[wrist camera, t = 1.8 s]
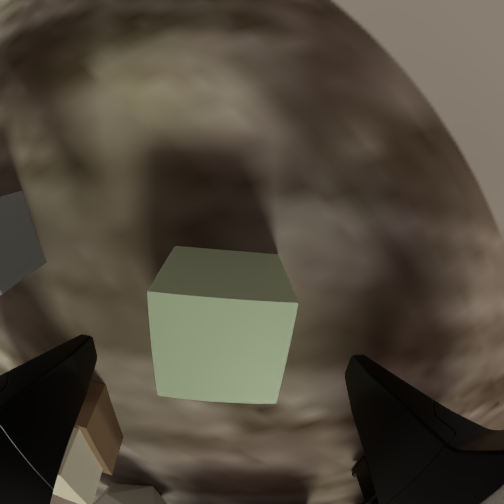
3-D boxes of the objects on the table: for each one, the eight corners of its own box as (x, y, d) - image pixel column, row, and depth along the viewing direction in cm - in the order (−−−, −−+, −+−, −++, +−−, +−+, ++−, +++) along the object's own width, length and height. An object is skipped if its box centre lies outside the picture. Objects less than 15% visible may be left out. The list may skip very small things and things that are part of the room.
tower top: (79, 428, 11) (60, 475, 8) (103, 468, 13) (91, 508, 10) (15, 404, 11) (-8, 441, 8) (44, 448, 13) (29, 482, 9)
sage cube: (277, 253, 13) (298, 303, 9) (265, 338, 14) (276, 403, 10) (175, 245, 12) (147, 291, 8) (175, 331, 14) (157, 395, 10)
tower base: (106, 382, 15) (86, 428, 11) (124, 434, 17) (112, 475, 13) (35, 362, 15) (9, 398, 11) (59, 416, 16) (42, 450, 13)
